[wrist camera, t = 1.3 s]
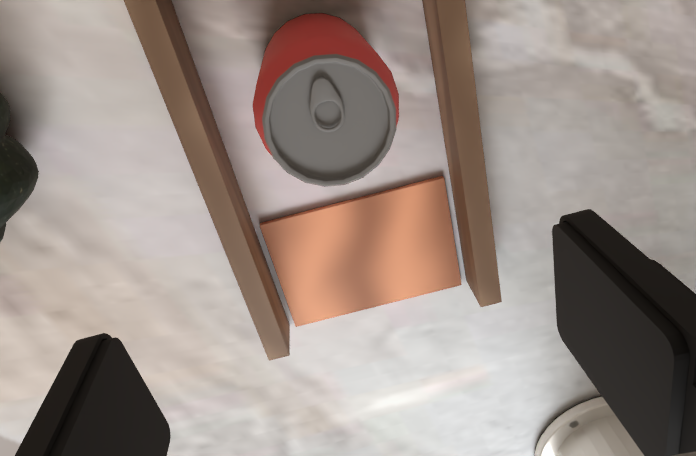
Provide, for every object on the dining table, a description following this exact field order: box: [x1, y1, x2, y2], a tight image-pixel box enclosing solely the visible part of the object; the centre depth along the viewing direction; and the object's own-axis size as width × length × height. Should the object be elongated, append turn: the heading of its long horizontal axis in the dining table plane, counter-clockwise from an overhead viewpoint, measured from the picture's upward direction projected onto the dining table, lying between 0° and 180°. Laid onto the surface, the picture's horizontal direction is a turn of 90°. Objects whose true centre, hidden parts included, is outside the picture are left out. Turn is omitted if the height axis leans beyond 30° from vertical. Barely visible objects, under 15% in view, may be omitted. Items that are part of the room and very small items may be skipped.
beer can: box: [253, 13, 399, 187], centre depth 27 cm, size 7×7×12 cm
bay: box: [124, 0, 502, 360], centre depth 33 cm, size 17×26×4 cm, turn 13°
